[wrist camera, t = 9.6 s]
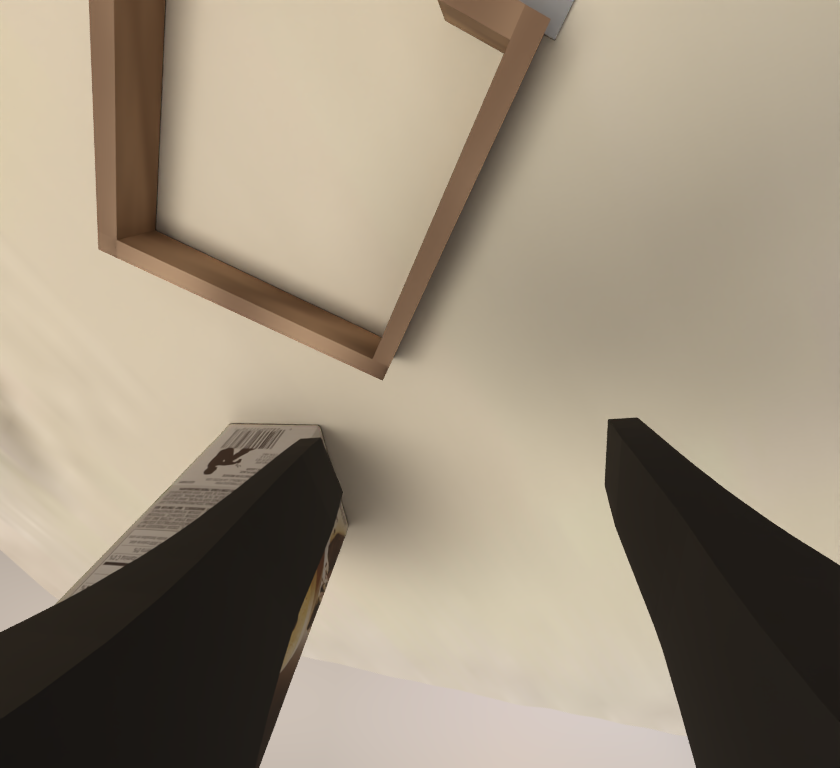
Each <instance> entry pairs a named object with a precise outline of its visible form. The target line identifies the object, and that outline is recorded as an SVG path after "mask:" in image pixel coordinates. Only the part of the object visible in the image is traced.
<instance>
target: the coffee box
mask: <svg viewBox="0 0 840 768" xmlns="http://www.w3.org/2000/svg"><path fill="white" fill-rule="evenodd" d="M318 437H321V439H322V441H323V444H324V446H325V443H324V439H323V436H322V432H321V428H320V427H319V426H317V425H269V424H229V425H228V426H227V427H226V429H225V430H224V431H223V432H222V433H221V434H220V435H219V436H218V437H217V438H216V439H215V440H214V441H213V442H212V443H211V444H210V445H209V446H208V447H207V448H206V450H205V451H204V452H203V453H202V454H201V455H200V456H199V457H198V458H197V459H196V460H195V461H194V462H193V463H192V464H191V465H190V466H189V467H188V468H187V469H186V470H185V471H184V472H183V473H182V474H181V475H180V476H179V477H178V479H177V480H176V481H175V482H174V483H173V484H172V485H171V486H170V487H169V488H168V489H167V490H166V491H165V492H164V493H163V494H162V495H161V496H160V497H159V498H158V499H157V500H156V501H155V502H154V503H153V505H152V506H151V507H150V508H149V509H148V510H147V511H146V512H145V513H144V514H143V515H142V516H141V517H140V518H139V519H138V520H137V521H136V522H135V523H134V524H133V525H132V526H131V527H130V528H129V529H128V530H127V531H126V532H125V533H124V534H123V535H122V536H121V537H120V538H119V539H118V540H117V541H116V542H115V543H114V544H113V545H112V546H111V548H110V549H109V550H108V551H107V552H106V553H105V554H104V555H103V556H102V557H101V558H100V559H99V560H98V561H97V562H96V563H95V564H94V565H93V566H92V567H91V568H90V569H89V570H88V571H87V572H86V573H85V574H84V575H83V576H82V577H81V578H80V579H79V580H78V581H77V582H76V583H75V584H74V586H73V587H72V588H71V589H70V590H69V591H68V592H67V593H66V594H65V595H64V596H63V597H62V598H61V599H60V600H59V601H58V602H57V603H56V604H58V603H60V602H62V601H63V600H65V599H67V598H69V597H71V596H73V595H75V594H77V593H78V592H80V591H82V590H84V589H86V588H88V587H89V586H91V585H93V584H95V583H96V582H98V581H100V580H101V579H103V578H105V577H107V576H108V575H110V574H112V573H113V572H115V571H117V570H118V569H120V568H122V567H124V566H125V565H127V564H129V563H130V562H132V561H134V560H136V559H137V558H139V557H140V556H142V555H144V554H145V553H147V552H148V551H150V550H152V549H153V548H155V547H156V546H158V545H159V544H161V543H162V542H164V541H165V540H167V539H168V538H170V537H171V536H173V535H174V534H176V533H177V532H179V531H180V530H182V529H183V528H185V527H186V526H187V525H189V524H190V523H192V522H193V521H194V520H196V519H197V518H198V517H200V516H201V515H202V514H204V513H205V512H206V511H208V510H209V509H210V508H212V507H213V506H214V505H216V504H217V503H218V502H220V501H221V500H222V499H224V498H225V497H226V496H228V495H229V494H230V493H232V492H233V491H234V490H236V489H237V488H238V487H239V486H241V485H242V484H243V483H244V482H245V481H247V480H248V479H249V478H250V477H252V476H253V475H254V474H255V473H257V472H258V471H259V470H260V469H262V468H263V467H264V466H265V465H267V464H268V463H269V462H270V461H272V460H273V459H274V458H275V457H277V456H278V455H279V454H280V453H282V452H283V451H284V450H286V449H287V448H288V447H290V446H291V445H292V444H294V443H295V442H297V441H298V440H299V439H302V438H318ZM325 449H326V446H325ZM326 451H327V449H326ZM327 454H328V453H327ZM347 530H348V524H347V520H346V516H345V513H344V509H343V506H342V503H341V501H340V506H339V510H338V514H337V517H336V521H335V524H334V528H333V530H332V533H331V536H330V538H329V541H328V543H327V546H326V548H325V551H324V553H323V556H322V558H321V560H320V563H319V565H318V568H317V570H316V573H315V575H314V577H313V580H312V582H311V585H310V587H309V590H308V592H307V594H306V597H305V599H304V602H303V604H302V607H301V609H300V612H299V615H298V617H297V620H296V623H295V626H294V628H293V631H292V635H291V638H290V641H289V645H288V648H287V651H286V654H285V658H284V661H283V664H282V668H281V671H280V675H279V678H278V682H277V685H276V689H275V693H274V696H273V700H272V703H271V707H270V711H269V714H268V718H267V722H266V726H265V730H264V734H263V738H262V742H261V746H260V751H259V755H258V759H257V763H256V767H255V768H259V766H260V764H261V761H262V758H263V755H264V753H265V750H266V747H267V745H268V742H269V740H270V737H271V734H272V732H273V729H274V726H275V723H276V721H277V718H278V715H279V712H280V710H281V707H282V704H283V702H284V699H285V696H286V693H287V691H288V688H289V685H290V682H291V680H292V677H293V674H294V672H295V669H296V667H297V664H298V661H299V659H300V656H301V653H302V651H303V648H304V645H305V642H306V640H307V637H308V635H309V632H310V629H311V626H312V623H313V621H314V618H315V616H316V613H317V610H318V608H319V605H320V603H321V601H322V597H323V595H324V592H325V590H326V587H327V584H328V581H329V578H330V576H331V573H332V570H333V568H334V565H335V562H336V560H337V557H338V554H339V552H340V549H341V546H342V543H343V541H344V538H345V536H346V533H347ZM56 604H55V605H56Z"/></svg>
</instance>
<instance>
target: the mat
mask: <svg viewBox="0 0 840 768" xmlns="http://www.w3.org/2000/svg"><path fill="white" fill-rule="evenodd" d="M519 1H521V2H522V3H524V4H526V5H527V6H529V7H531V8H533V9H534V10H536V11H538V12H540V13H541V14H543V15H545V16H546V17H548V18H550V19H551V20H550V22H549V24H548V26H547V28H546V31H545V33H544V35H546V36H548V37H549V38H551V39H553V40H555V39H556V37H557V35H558V33H559V31H560V28H561V26H562V24H563V22H564V20H565V18H566V16H567V14H568V12H569V10H570V8H571V6H572V4H573V1H574V0H519Z"/></svg>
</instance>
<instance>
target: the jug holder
mask: <svg viewBox="0 0 840 768" xmlns="http://www.w3.org/2000/svg"><path fill="white" fill-rule="evenodd" d="M438 2H439V5H440V8H441V10H442V13H443V16H444V19H445V21H447V22H449V23H451V24H453V25H454V26H456V27H458V28H460V29H461V30H463V31H465V32H467V33H469V34H470V35H472V36H474V37H476V38H477V39H479V40H481V41H483V42H484V43H486V44H488V45H490V46H492V47H493V48H495V49H497V50H499V51H500V52H502V53H504V55H503V57H502V60H501V62H500V64H499V67H498V69H497V71H496V74H495V76H494V78H493V80H492V83H491V85H490V87H489V90H488V92H487V94H486V97H485V99H484V101H483V104H482V106H481V108H480V111H479V113H478V115H477V118H476V120H475V122H474V125H473V127H472V129H471V132H470V134H469V136H468V139H467V141H466V143H465V145H464V148H463V150H462V152H461V155H460V157H459V159H458V162H457V164H456V166H455V169H454V171H453V173H452V176H451V178H450V180H449V183H448V185H447V187H446V190H445V192H444V194H443V197H442V199H441V201H440V204H439V206H438V208H437V210H436V213H435V215H434V217H433V220H432V222H431V224H430V227H429V229H428V231H427V234H426V236H425V238H424V241H423V243H422V245H421V248H420V250H419V252H418V255H417V257H416V259H415V262H414V264H413V266H412V269H411V271H410V273H409V276H408V278H407V280H406V282H405V285H404V287H403V289H402V292H401V294H400V296H399V299H398V301H397V303H396V306H395V308H394V310H393V313H392V315H391V317H390V320H389V322H388V324H387V327H386V329H385V331H384V334H383V336H382V337H380V336H378V335H375V334H373V333H371V332H369V331H367V330H365V329H363V328H361V327H359V326H356V325H354V324H352V323H350V322H348V321H346V320H344V319H342V318H339V317H337V316H335V315H333V314H331V313H329V312H327V311H325V310H323V309H320V308H318V307H316V306H314V305H312V304H310V303H308V302H306V301H304V300H301V299H299V298H297V297H295V296H293V295H291V294H289V293H287V292H285V291H282V290H280V289H278V288H276V287H274V286H272V285H270V284H268V283H265V282H263V281H261V280H259V279H257V278H255V277H253V276H251V275H249V274H246V273H244V272H242V271H240V270H238V269H236V268H234V267H232V266H230V265H227V264H225V263H223V262H221V261H219V260H217V259H215V258H213V257H210V256H208V255H206V254H204V253H202V252H200V251H198V250H196V249H194V248H191V247H189V246H187V245H185V244H183V243H181V242H179V241H177V240H175V239H172V238H170V237H168V236H166V235H164V234H162V233H160V232H158V231H155V226H156V203H157V180H158V158H159V135H160V112H161V89H162V66H163V43H164V20H165V0H89V14H90V41H91V67H92V93H93V119H94V145H95V171H96V198H97V224H98V249H99V250H101V251H103V252H106V253H108V254H110V255H112V256H114V257H116V258H118V259H121V260H123V261H125V262H127V263H129V264H131V265H134V266H136V267H138V268H140V269H142V270H144V271H147V272H149V273H151V274H153V275H155V276H157V277H160V278H162V279H164V280H166V281H168V282H170V283H173V284H175V285H177V286H179V287H181V288H183V289H186V290H188V291H190V292H192V293H194V294H196V295H199V296H201V297H203V298H205V299H207V300H209V301H212V302H214V303H216V304H218V305H220V306H222V307H225V308H227V309H229V310H231V311H233V312H235V313H238V314H240V315H242V316H244V317H246V318H248V319H251V320H253V321H255V322H257V323H259V324H261V325H264V326H266V327H268V328H270V329H272V330H274V331H277V332H279V333H281V334H283V335H285V336H287V337H290V338H292V339H294V340H296V341H298V342H300V343H303V344H305V345H307V346H309V347H311V348H313V349H315V350H318V351H320V352H322V353H324V354H326V355H328V356H331V357H333V358H335V359H337V360H339V361H341V362H344V363H346V364H348V365H350V366H352V367H354V368H357V369H359V370H361V371H363V372H365V373H367V374H370V375H372V376H374V377H376V378H378V379H380V380H383V379H384V376H385V374H386V372H387V370H388V368H389V366H390V364H391V361H392V359H393V357H394V355H395V353H396V351H397V349H398V346H399V344H400V342H401V340H402V338H403V336H404V333H405V331H406V329H407V327H408V325H409V323H410V321H411V318H412V316H413V314H414V312H415V310H416V308H417V306H418V303H419V301H420V299H421V297H422V295H423V293H424V291H425V288H426V286H427V284H428V282H429V280H430V278H431V275H432V273H433V271H434V269H435V267H436V265H437V263H438V260H439V258H440V256H441V254H442V252H443V250H444V248H445V245H446V243H447V241H448V239H449V237H450V235H451V233H452V230H453V228H454V226H455V224H456V222H457V220H458V217H459V215H460V213H461V211H462V209H463V207H464V205H465V202H466V200H467V198H468V196H469V194H470V192H471V190H472V187H473V185H474V183H475V181H476V179H477V177H478V175H479V172H480V170H481V168H482V166H483V164H484V162H485V160H486V157H487V155H488V153H489V151H490V149H491V147H492V144H493V142H494V140H495V138H496V136H497V134H498V132H499V129H500V127H501V125H502V123H503V121H504V119H505V117H506V114H507V112H508V110H509V108H510V106H511V104H512V102H513V99H514V97H515V95H516V93H517V91H518V89H519V86H520V84H521V82H522V80H523V78H524V76H525V74H526V71H527V69H528V67H529V65H530V63H531V61H532V59H533V56H534V54H535V52H536V50H537V48H538V46H539V44H540V41H541V39H542V37H543V35H544V33H545V31H546V28H547V26H548V24H549V22H550V20H551V19H550V18H548V17H546V16H545V15H543V14H541V13H540V12H538V11H536V10H534V9H533V8H531V7H529V6H527V5H526V4H524V3H522V2H521V1H519V0H438Z"/></svg>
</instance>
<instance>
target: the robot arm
mask: <svg viewBox="0 0 840 768" xmlns="http://www.w3.org/2000/svg"><path fill="white" fill-rule="evenodd" d="M605 488H606V492H607V496H608V500H609V504H610V508H611V512H612V516H613V520H614V523H615V527H616V529H617V532H618V535H619V537H620V540H621V542H622V545H623V548H624V550H625V553H626V555H627V558H628V561H629V563H630V566H631V568H632V571H633V573H634V576H635V578H636V581H637V583H638V586H639V589H640V591H641V594H642V596H643V599H644V601H645V604H646V606H647V609H648V611H649V614H650V617H651V619H652V622H653V624H654V627H655V630H656V633H657V635H658V638H659V641H660V644H661V647H662V650H663V653H664V656H665V660H666V663H667V667H668V670H669V673H670V677H671V680H672V684H673V687H674V691H675V694H676V697H677V701H678V704H679V708H680V711H681V715H682V718H683V722H684V726H685V729H686V733H687V736H688V740H689V744H690V747H691V751H692V754H693V758H694V761H695V765H696V768H840V565H838V564H837V563H835V562H834V561H832V560H830V559H829V558H827V557H826V556H824V555H822V554H821V553H819V552H818V551H816V550H814V549H813V548H811V547H810V546H808V545H806V544H805V543H803V542H802V541H800V540H798V539H797V538H795V537H794V536H792V535H791V534H789V533H788V532H786V531H785V530H783V529H781V528H780V527H778V526H777V525H775V524H774V523H772V522H771V521H770V520H768V519H767V518H765V517H764V516H762V515H761V514H760V513H758V512H757V511H755V510H754V509H752V508H751V507H750V506H748V505H747V504H745V503H744V502H743V501H741V500H740V499H738V498H737V497H735V496H734V495H733V494H731V493H730V492H729V491H727V490H726V489H725V488H723V487H722V486H721V485H719V484H718V483H717V482H716V481H714V480H713V479H712V478H710V477H709V476H708V475H707V474H705V473H704V472H703V471H701V470H700V469H699V468H698V467H696V466H695V465H694V464H693V463H691V462H690V461H689V460H688V459H686V458H685V457H684V456H683V455H682V454H680V453H679V452H678V451H677V450H676V449H674V448H673V447H672V446H671V445H670V444H668V443H667V442H666V441H665V440H664V439H662V438H661V437H660V436H659V435H658V434H657V433H655V432H654V431H653V430H652V429H651V428H649V427H648V426H647V425H646V424H645V423H643V422H642V421H641V420H640V419H639V418H623V419H608V431H607V450H606V469H605ZM342 493H343V491H342V489H341V486H340V484H339V481H338V479H337V476H336V474H335V471H334V469H333V466H332V464H331V461H330V459H329V456H328V454H327V451H326V449H325V446H324V444H323V441H322V439H321V437H318V438H302V439H299V440H298V441H297V442H295V443H294V444H292V445H291V446H290V447H288V448H287V449H286V450H284V451H283V452H282V453H280V454H279V455H278V456H277V457H275V458H274V459H273V460H272V461H270V462H269V463H268V464H267V465H265V466H264V467H263V468H262V469H260V470H259V471H258V472H257V473H255V474H254V475H253V476H252V477H250V478H249V479H248V480H247V481H245V482H244V483H243V484H242V485H241V486H239V487H238V488H237V489H236V490H234V491H233V492H232V493H230V494H229V495H228V496H226V497H225V498H224V499H222V500H221V501H220V502H218V503H217V504H216V505H214V506H213V507H212V508H210V509H209V510H208V511H206V512H205V513H204V514H202V515H201V516H200V517H198V518H197V519H196V520H194V521H193V522H192V523H190V524H189V525H187V526H186V527H185V528H183V529H182V530H180V531H179V532H177V533H176V534H174V535H173V536H171V537H170V538H168V539H167V540H165V541H164V542H162V543H161V544H159V545H158V546H156V547H155V548H153V549H152V550H150V551H148V552H147V553H145V554H144V555H142V556H140V557H139V558H137V559H136V560H134V561H132V562H130V563H129V564H127V565H125V566H124V567H122V568H120V569H118V570H117V571H115V572H113V573H112V574H110V575H108V576H107V577H105V578H103V579H101V580H100V581H98V582H96V583H95V584H93V585H91V586H89V587H88V588H86V589H84V590H82V591H80V592H78V593H77V594H75V595H73V596H71V597H69V598H67V599H65V600H63V601H62V602H60V603H58V604H56V605H54V606H52V607H50V608H48V609H46V610H44V611H42V612H40V613H38V614H37V615H34V616H32V617H30V618H28V619H26V620H24V621H22V622H21V623H18V624H16V625H14V626H12V627H10V628H8V629H6V630H4V631H2V632H0V768H255V767H256V763H257V759H258V755H259V751H260V746H261V742H262V738H263V734H264V730H265V726H266V722H267V718H268V714H269V711H270V707H271V703H272V700H273V696H274V693H275V689H276V685H277V682H278V678H279V675H280V671H281V668H282V664H283V661H284V658H285V654H286V651H287V648H288V645H289V641H290V638H291V635H292V631H293V628H294V626H295V623H296V620H297V617H298V615H299V612H300V609H301V607H302V604H303V602H304V599H305V597H306V594H307V592H308V590H309V587H310V585H311V582H312V580H313V577H314V575H315V573H316V570H317V568H318V565H319V563H320V560H321V558H322V556H323V553H324V551H325V548H326V546H327V543H328V541H329V538H330V536H331V533H332V530H333V528H334V524H335V521H336V517H337V514H338V510H339V506H340V501H341V497H342Z"/></svg>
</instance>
